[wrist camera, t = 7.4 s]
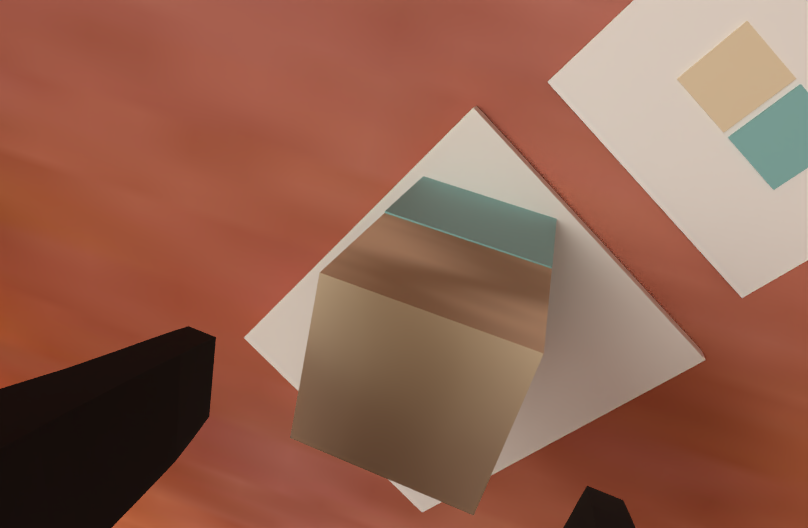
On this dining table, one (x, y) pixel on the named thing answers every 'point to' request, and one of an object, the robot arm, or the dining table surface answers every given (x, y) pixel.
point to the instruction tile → (708, 122)
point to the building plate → (567, 311)
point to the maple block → (421, 357)
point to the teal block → (479, 220)
